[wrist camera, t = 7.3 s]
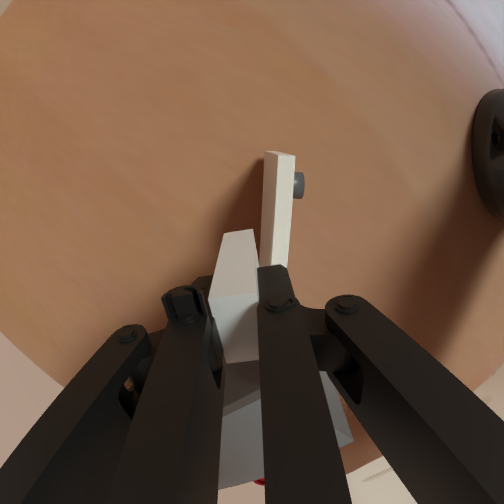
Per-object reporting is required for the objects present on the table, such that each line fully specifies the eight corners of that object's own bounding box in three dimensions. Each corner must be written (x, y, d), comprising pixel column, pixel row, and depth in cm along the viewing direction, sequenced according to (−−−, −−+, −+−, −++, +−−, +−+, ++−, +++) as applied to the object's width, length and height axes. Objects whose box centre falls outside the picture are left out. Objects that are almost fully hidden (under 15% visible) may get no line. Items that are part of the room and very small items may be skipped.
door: (278, 316, 25) (292, 386, 17) (254, 316, 25) (260, 387, 17) (291, 152, 20) (323, 158, 12) (262, 150, 20) (277, 155, 12)
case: (267, 313, 25) (280, 399, 16) (332, 377, 29) (356, 449, 20) (135, 395, 29) (115, 462, 20) (205, 439, 33) (201, 499, 24)
